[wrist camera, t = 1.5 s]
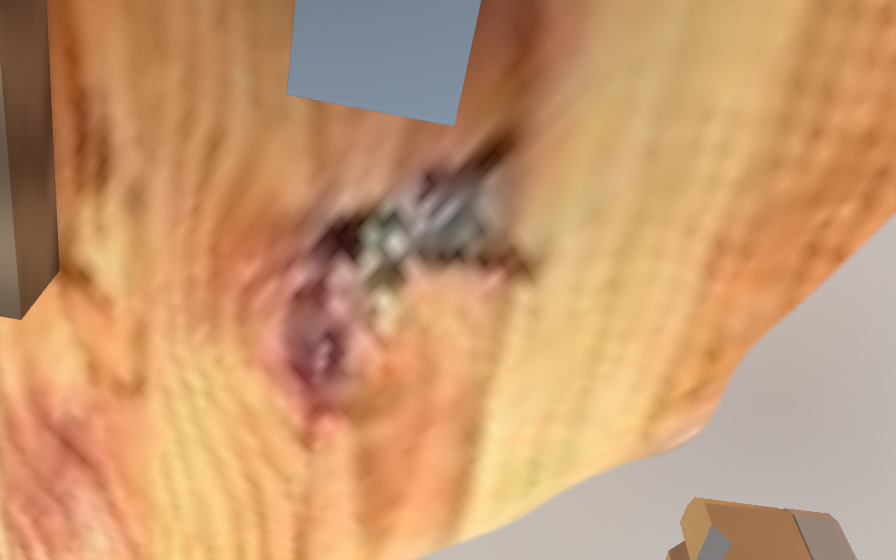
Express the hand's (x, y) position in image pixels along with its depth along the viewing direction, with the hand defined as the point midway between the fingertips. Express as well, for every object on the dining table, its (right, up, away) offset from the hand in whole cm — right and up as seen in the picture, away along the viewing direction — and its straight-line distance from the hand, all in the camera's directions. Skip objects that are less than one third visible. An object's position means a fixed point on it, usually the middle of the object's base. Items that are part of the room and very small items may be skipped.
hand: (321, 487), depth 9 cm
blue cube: (0, +12, +19) cm, 22 cm away
